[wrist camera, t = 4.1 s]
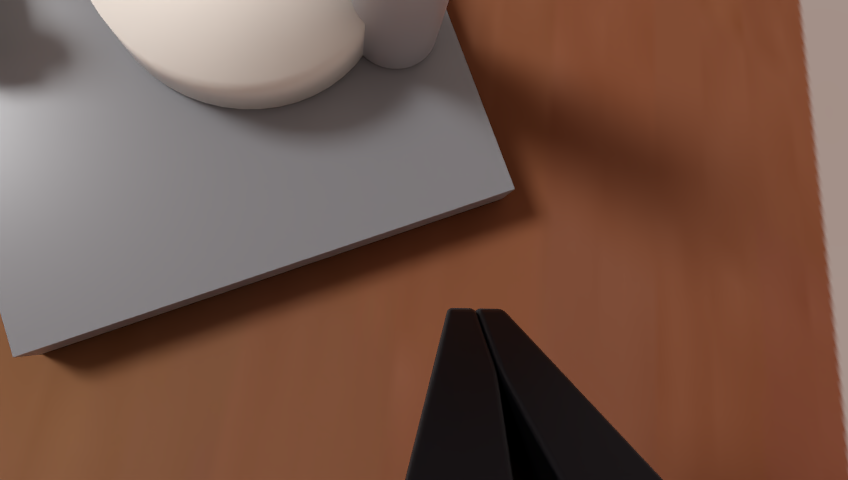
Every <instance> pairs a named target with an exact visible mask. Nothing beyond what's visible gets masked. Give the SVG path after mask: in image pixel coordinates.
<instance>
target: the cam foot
mask: <svg viewBox="0 0 848 480" xmlns="http://www.w3.org/2000/svg"><path fill="white" fill-rule="evenodd" d="M91 2H92V4H93V5H94V7H95V8H96V10H97V11H98V13H99V14H100V16H101V17H102V18H103V20H104V21H105V22H106V23H107V25H108V26H109V27H110V29H111V30H112V31H113V32H114V34H115V35H116V36H117V37H118V39H119V40H120V41H121V43H122V44H123V45H124V46H125V48H126V49H127V50H128V51H129V53H130V54H131V55H132V56H133V57H134V58H135V60H136V61H137V62H138V63H139V64H140V65H141V66H142V67H143V68H144V69H146V70H147V71H148V72H149V73H150V74H151V75H152V76H153V77H155V78H156V79H158V80H159V81H161V82H162V83H164V84H165V85H167V86H168V87H170V88H172V89H173V90H175V91H177V92H179V93H181V94H183V95H185V96H187V97H190V98H193V99H196V100H198V101H201V102H204V103H208V104H212V105H216V106H220V107H226V108H235V109H266V108H274V107H281V106H285V105H288V104H292V103H296V102H299V101H302V100H304V99H307V98H309V97H312V96H314V95H316V94H318V93H320V92H321V91H323V90H325V89H327V88H329V87H330V86H332V85H333V84H334V83H336V82H337V81H338V80H340V79H341V78H342V77H344V76H345V75H346V74H347V73H348V72H349V71H350V70H351V69H352V68H353V67H354V66H355V65H356V64H357V62H358V61H359V60H360V58H361V57H362V56H364V57H365V58H366V59H368V60H369V61H371V62H372V63H374V64H376V65H379V66H381V67H385V68H390V69H402V68H407V67H411V66H413V65H416V64H417V63H419V62H421V61H422V60H423V59H425V58H426V57H427V56H428V54H429V53H430V52H431V50H432V48H433V46H434V44H435V41H436V38H437V35H438V32H439V29H440V26H441V23H442V20H443V17H444V14H445V11H446V8H447V5H448V2H449V0H91Z"/></svg>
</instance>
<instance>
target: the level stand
mask: <svg viewBox="0 0 848 480" xmlns="http://www.w3.org/2000/svg"><path fill="white" fill-rule="evenodd" d="M514 189H515V188H514V185H513V183H512V180H511V177H510V175H509V172H508V170H507V167H506V164H505V162H504V159H503V157H502V154H501V151H500V149H499V146H498V143H497V141H496V138H495V136H494V133H493V130H492V128H491V125H490V122H489V120H488V117H487V115H486V112H485V109H484V107H483V104H482V102H481V99H480V96H479V94H478V91H477V88H476V86H475V83H474V81H473V78H472V75H471V73H470V70H469V67H468V65H467V62H466V60H465V57H464V54H463V52H462V49H461V46H460V44H459V41H458V39H457V36H456V33H455V31H454V28H453V26H452V23H451V20H450V18H449V15H448V12H447V10H446V11H445V14H444V17H443V20H442V23H441V26H440V29H439V32H438V35H437V38H436V41H435V44H434V46H433V48H432V50H431V52H430V53H429V54H428V56H427V57H426V58H425V59H423V60H422V61H421V62H419V63H417V64H416V65H413V66H411V67H407V68H402V69H390V68H385V67H381V66H379V65H376V64H374V63H372V62H371V61H369V60H368V59H366V58H365V57H364V56H362V57H361V58H360V60H359V61H358V62H357V64H356V65H355V66H354V67H353V68H352V69H351V70H350V71H349V72H348V73H347V74H346V75H345V76H344V77H342V78H341V79H340V80H338V81H337V82H336V83H334V84H333V85H332V86H330V87H329V88H327V89H325V90H323V91H321V92H320V93H318V94H316V95H314V96H312V97H309V98H307V99H304V100H302V101H299V102H296V103H292V104H288V105H285V106H281V107H274V108H266V109H235V108H226V107H220V106H216V105H212V104H208V103H204V102H201V101H198V100H196V99H193V98H190V97H187V96H185V95H183V94H181V93H179V92H177V91H175V90H173V89H172V88H170V87H168V86H167V85H165V84H164V83H162V82H161V81H159V80H158V79H156V78H155V77H153V76H152V75H151V74H150V73H149V72H148V71H147V70H146V69H144V68H143V67H142V66H141V65H140V64H139V63H138V62H137V61H136V60H135V58H134V57H133V56H132V55H131V54H130V53H129V51H128V50H127V49H126V48H125V46H124V45H123V44H122V43H121V41H120V40H119V39H118V37H117V36H116V35H115V34H114V32H113V31H112V30H111V29H110V27H109V26H108V25H107V23H106V22H105V21H104V20H103V18H102V17H101V16H100V14H99V13H98V11H97V10H96V8H95V7H94V5H93V4H92V2H91V0H0V313H1V316H2V320H3V323H4V327H5V330H6V334H7V338H8V341H9V345H10V348H11V352H12V355H13V357H21V356H30V355H40V354H44V353H47V352H50V351H52V350H55V349H58V348H61V347H64V346H67V345H70V344H73V343H76V342H79V341H82V340H85V339H88V338H91V337H94V336H97V335H100V334H103V333H106V332H109V331H112V330H115V329H118V328H121V327H124V326H127V325H130V324H132V323H135V322H138V321H141V320H144V319H147V318H150V317H153V316H156V315H159V314H162V313H165V312H168V311H171V310H174V309H177V308H180V307H183V306H186V305H189V304H192V303H195V302H198V301H201V300H204V299H207V298H209V297H212V296H215V295H218V294H221V293H224V292H227V291H230V290H233V289H236V288H239V287H242V286H245V285H248V284H251V283H254V282H257V281H260V280H263V279H266V278H269V277H272V276H275V275H278V274H281V273H284V272H287V271H289V270H292V269H295V268H298V267H301V266H304V265H307V264H310V263H313V262H316V261H319V260H322V259H325V258H328V257H331V256H334V255H337V254H340V253H343V252H346V251H349V250H352V249H355V248H358V247H361V246H364V245H366V244H369V243H372V242H375V241H378V240H381V239H384V238H387V237H390V236H393V235H396V234H399V233H402V232H405V231H408V230H411V229H414V228H417V227H420V226H423V225H426V224H429V223H432V222H435V221H438V220H441V219H444V218H446V217H449V216H452V215H455V214H458V213H461V212H464V211H467V210H470V209H473V208H476V207H479V206H482V205H485V204H488V203H491V202H494V201H497V200H500V199H503V198H504V197H505V196H506V195H508V194H509V193H510V192H512V191H513V190H514Z"/></svg>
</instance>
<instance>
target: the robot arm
mask: <svg viewBox="0 0 848 480" xmlns="http://www.w3.org/2000/svg"><path fill="white" fill-rule="evenodd" d="M405 480H663V479H662V478H661V477H660V476H659V475H658V474H657V473H656V472H655V471H654V470H653V469H652V468H651V467H650V466H649V464H648V463H647V462H646V461H645V460H644V459H643V458H642V457H641V456H640V455H639V454H638V453H637V452H636V451H635V450H634V449H633V447H632V446H631V445H630V444H629V443H628V442H627V441H626V440H625V439H624V438H623V437H622V436H621V435H620V434H619V433H618V431H617V430H616V429H615V428H614V427H613V426H612V425H611V424H610V423H609V422H608V421H607V420H606V419H605V418H604V417H603V415H602V414H601V413H600V412H599V411H598V410H597V409H596V408H595V407H594V406H593V405H592V404H591V403H590V402H589V401H588V400H587V398H586V397H585V396H584V395H583V394H582V393H581V392H580V391H579V390H578V389H577V388H576V387H575V386H574V385H573V384H572V382H571V381H570V380H569V379H568V378H567V377H566V376H565V375H564V374H563V373H562V372H561V371H560V370H559V369H558V368H557V366H556V365H555V364H554V363H553V362H552V361H551V360H550V359H549V358H548V357H547V356H546V355H545V354H544V353H543V352H542V350H541V349H540V348H539V347H538V346H537V345H536V344H535V343H534V342H533V341H532V340H531V339H530V338H529V337H528V336H527V335H526V333H525V332H524V331H523V330H522V329H521V328H520V327H519V326H518V325H517V324H516V323H515V322H514V321H513V320H512V319H511V317H510V316H509V315H508V314H507V313H506V312H505V311H503V310H501V309H478V310H476V311H474V310H473V309H471V308H450V309H449V310H448V311H447V314H446V318H445V322H444V326H443V330H442V334H441V338H440V342H439V346H438V350H437V354H436V358H435V362H434V366H433V370H432V374H431V378H430V382H429V386H428V390H427V394H426V398H425V402H424V406H423V410H422V414H421V418H420V422H419V426H418V430H417V434H416V438H415V442H414V446H413V450H412V454H411V458H410V462H409V466H408V470H407V474H406V478H405Z"/></svg>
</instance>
